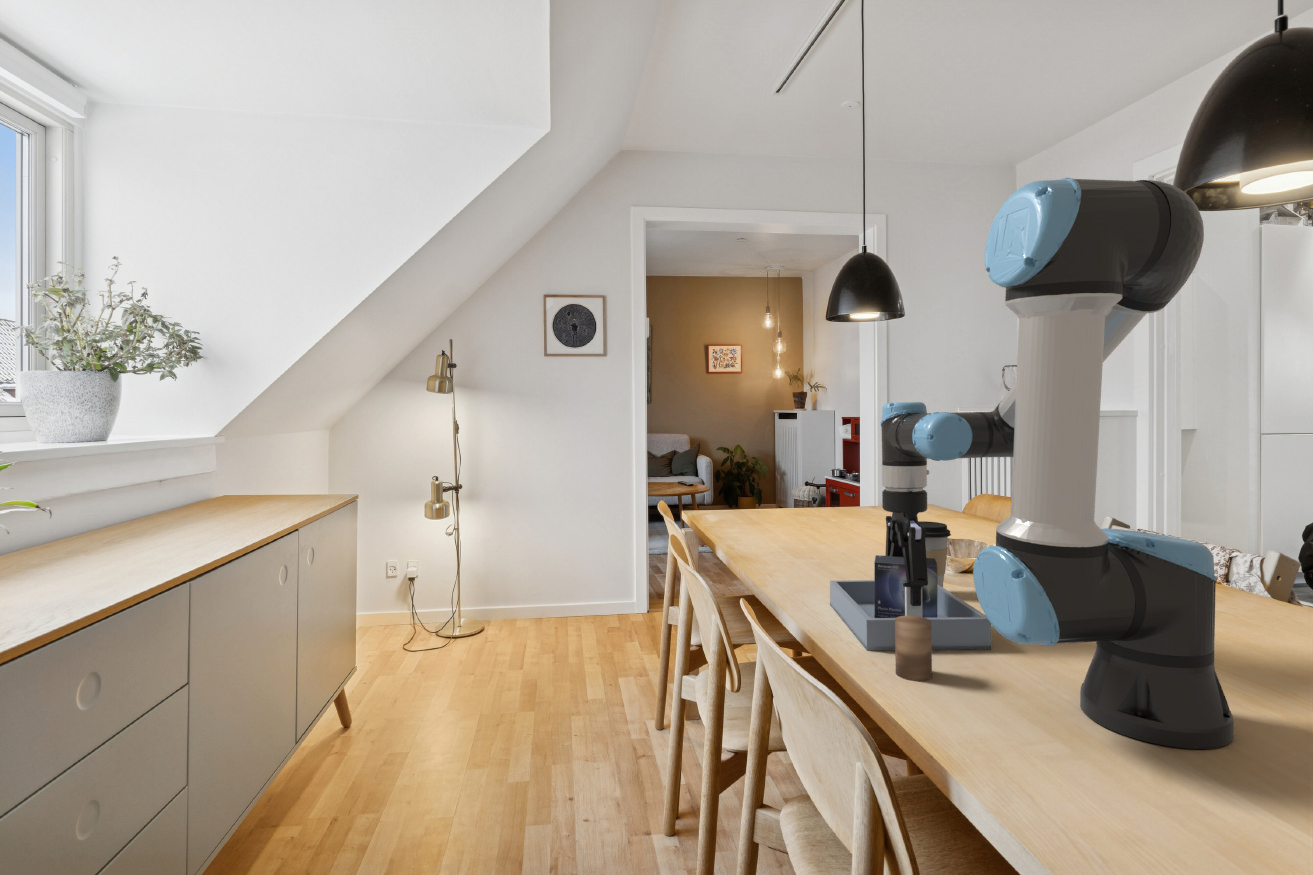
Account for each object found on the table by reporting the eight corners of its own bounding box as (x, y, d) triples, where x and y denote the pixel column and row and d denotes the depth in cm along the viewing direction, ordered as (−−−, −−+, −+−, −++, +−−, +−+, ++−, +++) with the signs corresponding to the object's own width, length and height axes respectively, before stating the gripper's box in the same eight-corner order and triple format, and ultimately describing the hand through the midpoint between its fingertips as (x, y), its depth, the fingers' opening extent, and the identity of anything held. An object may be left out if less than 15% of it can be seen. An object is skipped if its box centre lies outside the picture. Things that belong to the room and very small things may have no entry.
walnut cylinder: (937, 680, 95) (936, 626, 95) (902, 681, 95) (901, 626, 95) (924, 667, 100) (924, 615, 100) (891, 667, 100) (890, 615, 100)
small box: (873, 620, 117) (873, 561, 117) (874, 610, 123) (874, 554, 123) (938, 625, 113) (937, 564, 113) (936, 615, 120) (935, 557, 119)
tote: (991, 649, 107) (991, 618, 107) (866, 650, 108) (866, 620, 108) (930, 603, 133) (929, 579, 133) (830, 605, 134) (829, 580, 134)
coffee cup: (942, 588, 144) (942, 520, 144) (958, 600, 135) (957, 527, 134) (898, 588, 145) (897, 520, 145) (910, 600, 136) (909, 528, 135)
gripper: (949, 495, 107) (950, 634, 108) (905, 482, 128) (906, 599, 128) (902, 496, 107) (903, 634, 108) (866, 483, 128) (867, 600, 129)
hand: (905, 615), depth 118 cm, fingers closed on small box, 8 cm apart
